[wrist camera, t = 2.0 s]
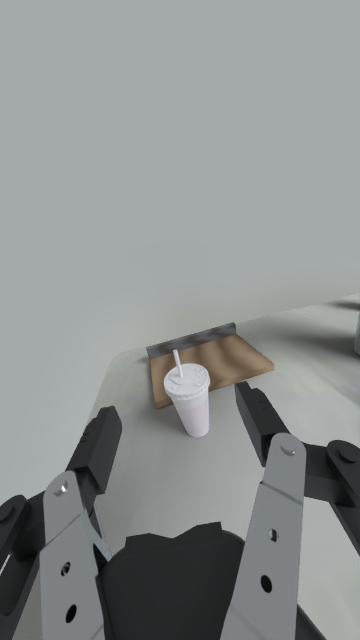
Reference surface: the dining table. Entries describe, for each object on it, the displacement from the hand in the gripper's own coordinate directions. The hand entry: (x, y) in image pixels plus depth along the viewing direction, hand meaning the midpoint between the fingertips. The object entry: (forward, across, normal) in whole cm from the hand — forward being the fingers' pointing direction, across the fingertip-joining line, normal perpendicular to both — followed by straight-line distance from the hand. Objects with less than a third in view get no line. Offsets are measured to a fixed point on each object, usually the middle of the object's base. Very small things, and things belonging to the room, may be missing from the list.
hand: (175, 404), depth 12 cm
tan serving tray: (+26, -4, +16) cm, 31 cm away
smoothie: (+12, 0, +17) cm, 20 cm away
